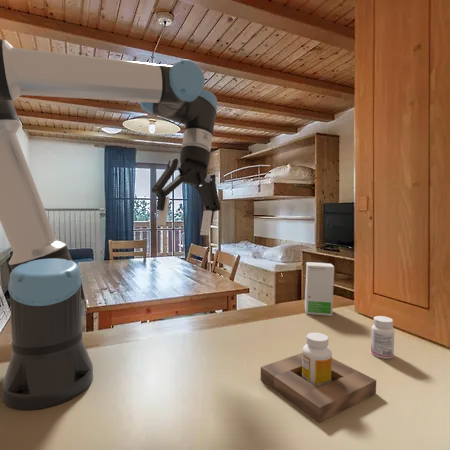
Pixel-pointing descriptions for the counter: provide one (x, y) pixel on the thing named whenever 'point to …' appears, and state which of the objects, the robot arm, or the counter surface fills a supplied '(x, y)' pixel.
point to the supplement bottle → (317, 360)
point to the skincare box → (319, 288)
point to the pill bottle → (382, 337)
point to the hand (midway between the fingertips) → (183, 230)
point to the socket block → (323, 396)
